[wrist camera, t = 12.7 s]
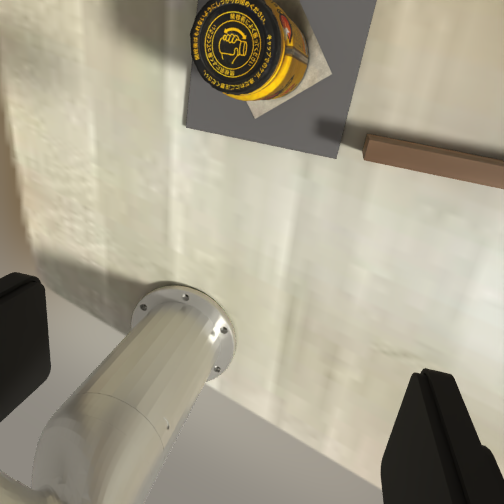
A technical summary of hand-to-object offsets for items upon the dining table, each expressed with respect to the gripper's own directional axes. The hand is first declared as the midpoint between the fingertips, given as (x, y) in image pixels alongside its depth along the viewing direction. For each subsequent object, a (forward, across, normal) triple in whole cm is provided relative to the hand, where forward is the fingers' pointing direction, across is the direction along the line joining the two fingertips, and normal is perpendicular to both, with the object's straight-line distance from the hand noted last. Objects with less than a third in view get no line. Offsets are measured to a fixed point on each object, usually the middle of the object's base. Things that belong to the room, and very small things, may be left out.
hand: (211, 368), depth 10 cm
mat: (+28, +4, -9) cm, 30 cm away
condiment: (+28, +5, -10) cm, 30 cm away
